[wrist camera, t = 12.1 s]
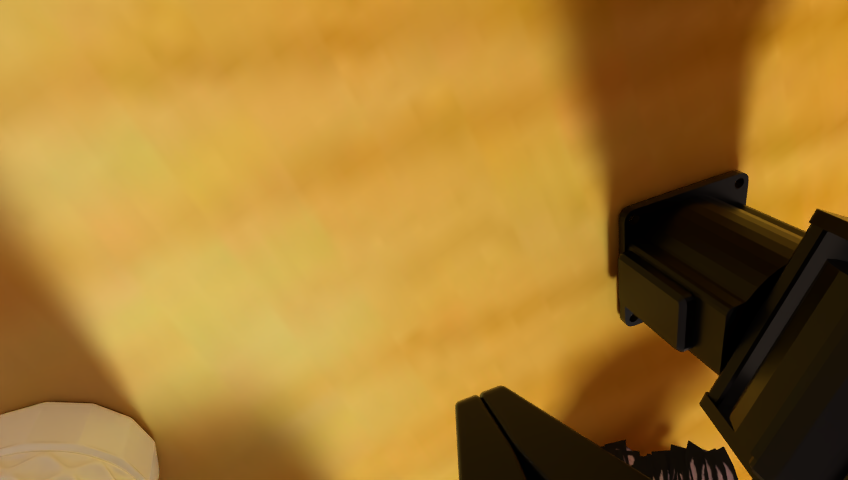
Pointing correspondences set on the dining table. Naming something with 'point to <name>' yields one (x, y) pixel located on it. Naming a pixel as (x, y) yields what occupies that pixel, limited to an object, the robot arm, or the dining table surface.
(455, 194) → the dining table surface
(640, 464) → the decorative flower
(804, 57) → the dining table surface
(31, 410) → the white cup
